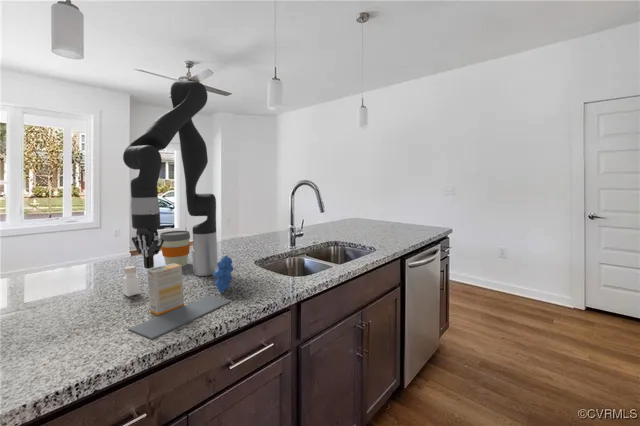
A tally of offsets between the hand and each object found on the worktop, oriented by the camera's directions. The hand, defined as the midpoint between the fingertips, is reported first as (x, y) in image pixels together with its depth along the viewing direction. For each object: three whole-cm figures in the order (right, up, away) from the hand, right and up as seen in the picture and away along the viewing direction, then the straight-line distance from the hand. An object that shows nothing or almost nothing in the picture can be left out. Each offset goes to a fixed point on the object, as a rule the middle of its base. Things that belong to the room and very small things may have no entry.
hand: (149, 267), depth 94 cm
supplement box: (+7, -12, -2) cm, 14 cm away
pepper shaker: (-12, -11, +10) cm, 19 cm away
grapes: (+18, -10, +14) cm, 25 cm away
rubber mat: (+14, -12, -6) cm, 20 cm away
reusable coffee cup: (-13, -7, +46) cm, 48 cm away
